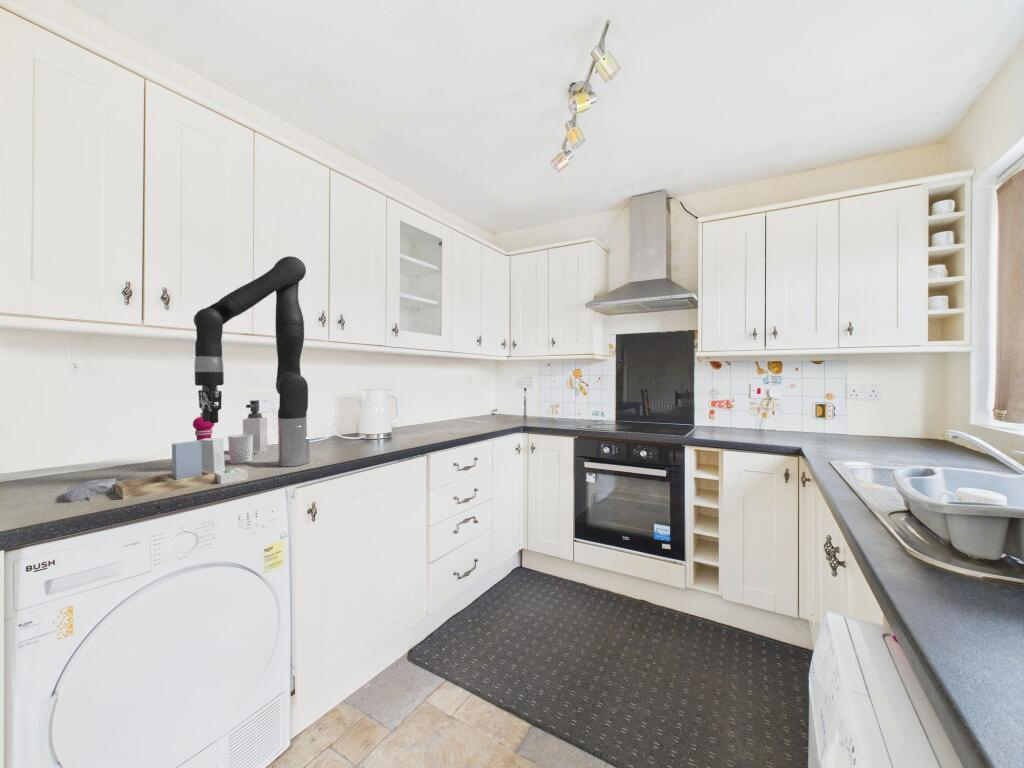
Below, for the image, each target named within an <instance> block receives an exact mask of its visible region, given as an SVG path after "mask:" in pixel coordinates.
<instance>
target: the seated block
mask: <svg viewBox="0 0 1024 768" xmlns="http://www.w3.org/2000/svg"><path fill="white" fill-rule="evenodd" d="M171 455H172V456H171V459H172V461H171V462H172V463H171V464H172V474H173V480H179V479H185V478H191V477H197V476H202V447H201V442H199V441H197V440H195V441H194V440H192V441H184V442H175V443H171Z"/></svg>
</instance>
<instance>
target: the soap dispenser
mask: <svg viewBox="0 0 1024 768" xmlns="http://www.w3.org/2000/svg"><path fill="white" fill-rule="evenodd" d="M249 402H250V404H246V405H245V408H246V409H250V412H251V413H248V414H247V415H248V416H247V418H243V419H242V431H243V432H242V434H252V435H253V449H252V453H261V454H263V453H262V452H264V453H266V452H268V417H263V415H262V412H260V400H249ZM265 451H266V452H265Z"/></svg>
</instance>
